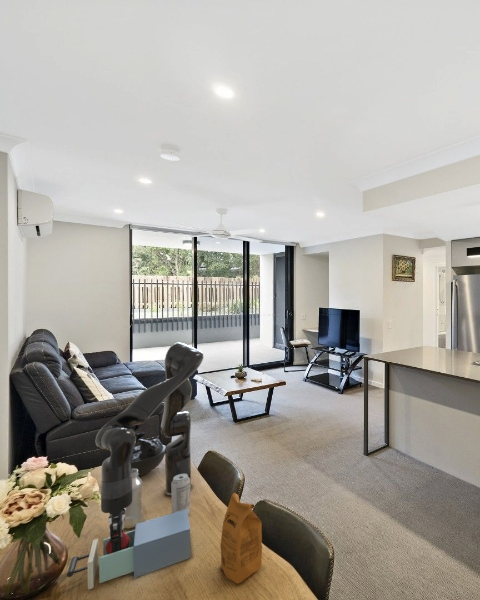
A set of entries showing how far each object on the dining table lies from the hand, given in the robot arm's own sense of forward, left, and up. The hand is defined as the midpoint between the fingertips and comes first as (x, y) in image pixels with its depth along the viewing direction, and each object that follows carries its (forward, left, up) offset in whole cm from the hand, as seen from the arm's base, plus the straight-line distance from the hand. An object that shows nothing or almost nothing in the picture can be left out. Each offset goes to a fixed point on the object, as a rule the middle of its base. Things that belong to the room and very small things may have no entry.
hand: (117, 545), depth 111 cm
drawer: (0, -2, -7) cm, 7 cm away
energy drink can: (-21, +17, -8) cm, 28 cm away
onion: (0, 0, -4) cm, 4 cm away
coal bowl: (-68, +3, -8) cm, 68 cm away
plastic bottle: (-24, +2, -8) cm, 25 cm away
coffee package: (+20, +31, -8) cm, 38 cm away
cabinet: (0, +11, -8) cm, 14 cm away
